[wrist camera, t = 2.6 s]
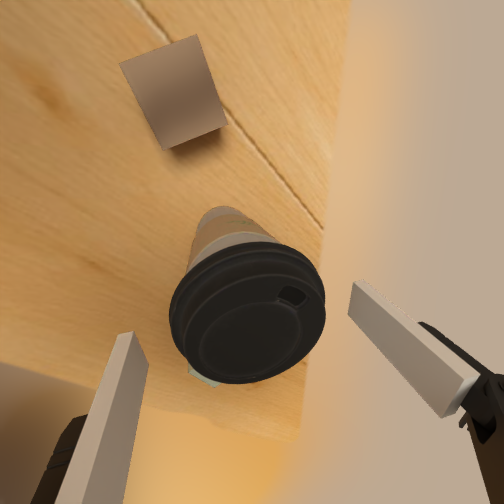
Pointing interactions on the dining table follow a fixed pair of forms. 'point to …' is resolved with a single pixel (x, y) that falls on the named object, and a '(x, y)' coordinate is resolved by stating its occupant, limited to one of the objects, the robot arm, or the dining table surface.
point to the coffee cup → (245, 302)
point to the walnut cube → (175, 91)
